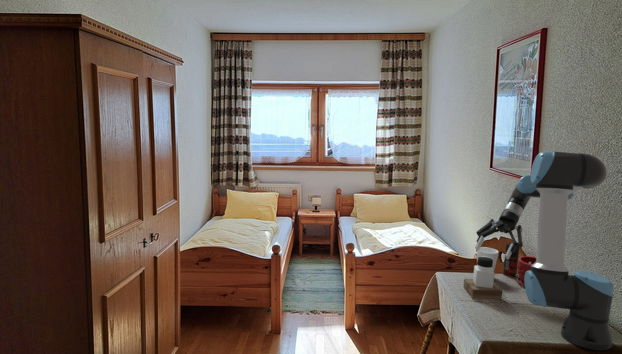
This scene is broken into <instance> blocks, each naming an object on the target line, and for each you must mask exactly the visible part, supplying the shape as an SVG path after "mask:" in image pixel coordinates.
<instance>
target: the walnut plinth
mask: <svg viewBox="0 0 622 354" xmlns="http://www.w3.org/2000/svg"><path fill="white" fill-rule="evenodd" d="M463 289H464V290H465V291H466V293H467V294H468V295H469V296H470V298H471V299H472V300H488V301H491V300H492V301H502V300H503V290H502V289H501V288H500V287H499V286H498V285H497V284H496V283H495V282H494V284H493V288H483V287H476V286H475V284H474V282H473V278H464V279H463Z"/></svg>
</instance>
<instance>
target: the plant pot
mask: <svg viewBox="0 0 622 354" xmlns="http://www.w3.org/2000/svg"><path fill="white" fill-rule="evenodd" d="M536 257H537V256H527V255H523V256H520V257H518V264H517V275H518V277H517V278H516V282H517V284H519V285H520V286H521V287H524V288H525V282H524V277H525V273H526V271H529V270H531V265H532V264H534V263H535V262H536Z"/></svg>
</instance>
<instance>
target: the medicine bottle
mask: <svg viewBox="0 0 622 354" xmlns="http://www.w3.org/2000/svg"><path fill="white" fill-rule="evenodd" d="M476 264H477V265H474V266H473V276H472V279H473V282H474V284H475V286H476V287H483V288H493V284H494V283H495V274H496V273H495V270H494V271H493V269H492V266H493V260H492V259H491V258H489V257H485V256H481V257H479V258H478V262H477V263H476Z"/></svg>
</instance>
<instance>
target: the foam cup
mask: <svg viewBox="0 0 622 354" xmlns="http://www.w3.org/2000/svg"><path fill="white" fill-rule="evenodd" d="M481 256H485V257H489V258H491V259H492V260H493V266H492V269H493V271H494V272H495V268H496V266H497V265H496V264H497V261H498V257H499V250H497V249H495V248H492V247H485V246H481V247H480V249H479V251H477V250H476V260H477V262H478V258H479V257H481Z"/></svg>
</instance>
